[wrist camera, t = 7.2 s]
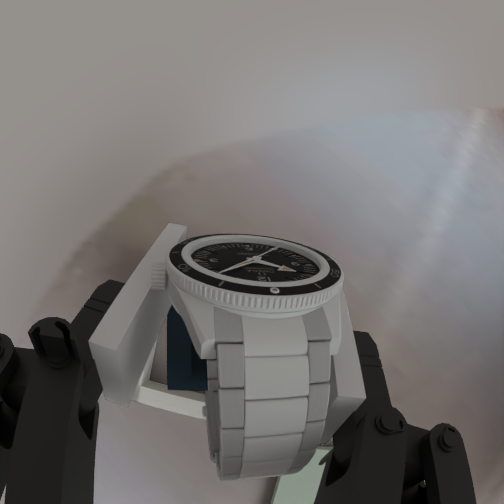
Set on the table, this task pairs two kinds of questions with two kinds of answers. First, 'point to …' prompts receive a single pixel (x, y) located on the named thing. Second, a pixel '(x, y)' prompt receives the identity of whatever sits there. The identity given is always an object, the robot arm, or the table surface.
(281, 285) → the watch
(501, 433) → the table surface
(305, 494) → the mat
